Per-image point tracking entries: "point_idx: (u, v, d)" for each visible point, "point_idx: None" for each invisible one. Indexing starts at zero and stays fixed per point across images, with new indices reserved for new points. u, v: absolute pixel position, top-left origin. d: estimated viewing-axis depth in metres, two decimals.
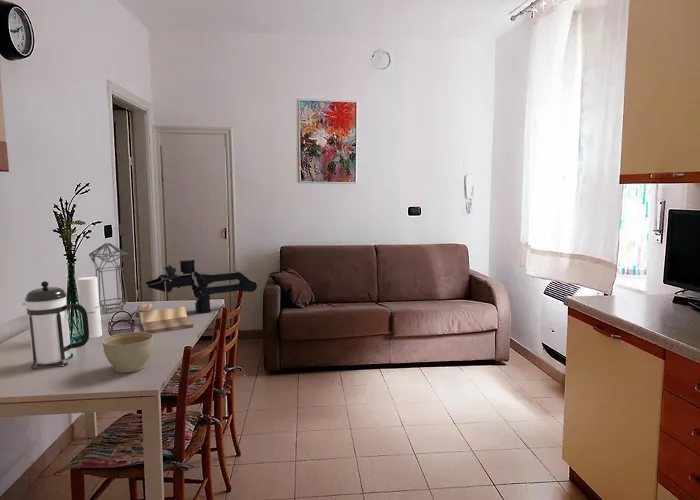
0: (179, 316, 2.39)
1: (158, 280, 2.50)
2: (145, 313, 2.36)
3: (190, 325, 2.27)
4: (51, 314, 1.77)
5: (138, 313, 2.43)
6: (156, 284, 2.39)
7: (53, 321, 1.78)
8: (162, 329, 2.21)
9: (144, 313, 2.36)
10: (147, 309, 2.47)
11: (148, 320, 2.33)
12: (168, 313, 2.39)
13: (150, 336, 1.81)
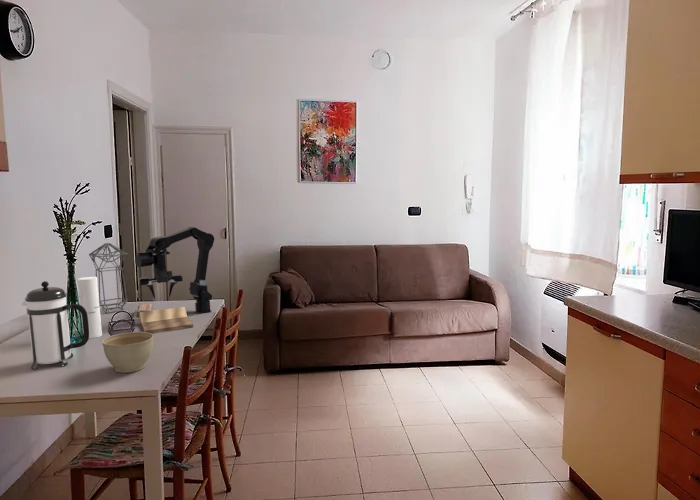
0: (179, 316, 2.39)
1: (152, 286, 2.36)
2: (145, 313, 2.36)
3: (190, 325, 2.27)
4: (51, 314, 1.77)
5: (139, 313, 2.43)
6: None
7: (53, 321, 1.78)
8: (162, 329, 2.21)
9: (144, 313, 2.36)
10: (148, 309, 2.47)
11: (148, 320, 2.33)
12: (168, 313, 2.39)
13: (150, 336, 1.81)
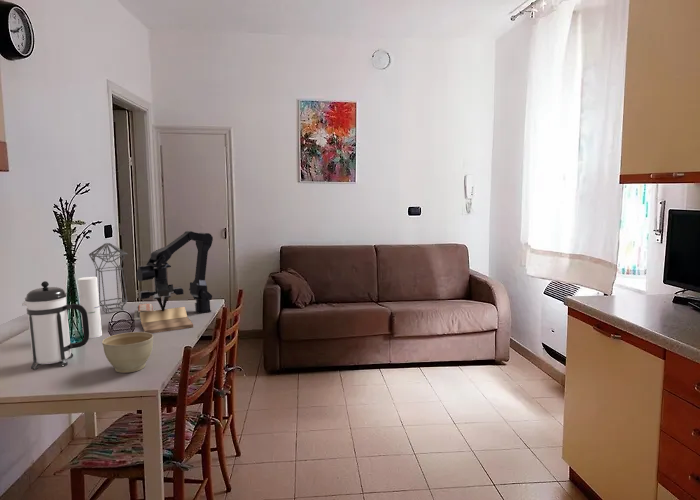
0: (179, 316, 2.39)
1: None
2: (145, 313, 2.36)
3: (190, 325, 2.27)
4: (51, 314, 1.77)
5: None
6: None
7: (53, 321, 1.78)
8: (162, 329, 2.21)
9: (144, 313, 2.36)
10: (149, 309, 2.47)
11: (148, 320, 2.33)
12: (168, 313, 2.39)
13: (150, 336, 1.81)
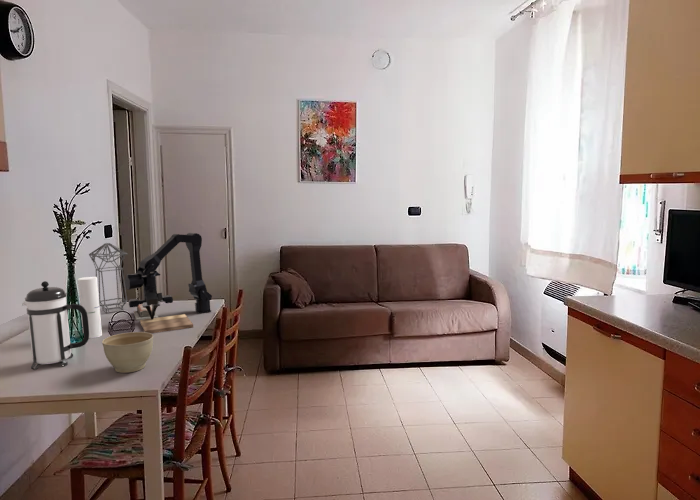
0: (179, 317, 2.39)
1: None
2: (145, 319, 2.37)
3: (190, 325, 2.27)
4: (51, 314, 1.77)
5: (143, 313, 2.43)
6: None
7: (53, 321, 1.78)
8: (162, 329, 2.21)
9: (144, 319, 2.37)
10: None
11: (148, 321, 2.33)
12: (168, 317, 2.40)
13: (150, 336, 1.81)
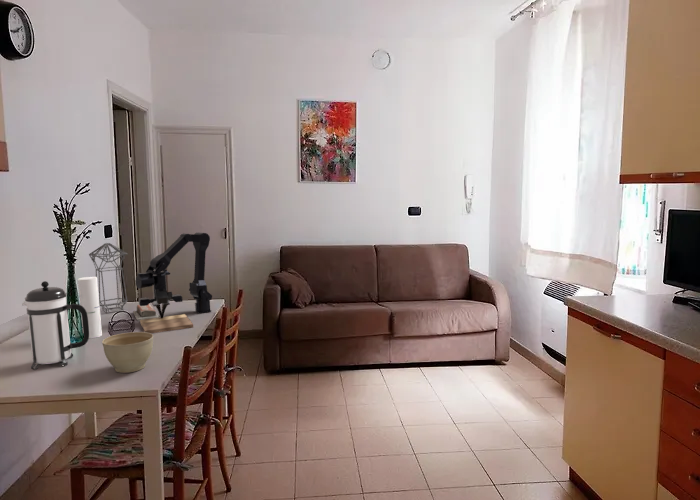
0: (179, 317, 2.39)
1: None
2: (145, 319, 2.37)
3: (190, 325, 2.27)
4: (51, 314, 1.77)
5: (143, 313, 2.43)
6: None
7: (53, 321, 1.78)
8: (162, 329, 2.21)
9: (144, 319, 2.37)
10: (151, 309, 2.48)
11: (148, 321, 2.33)
12: (168, 317, 2.40)
13: (150, 336, 1.81)
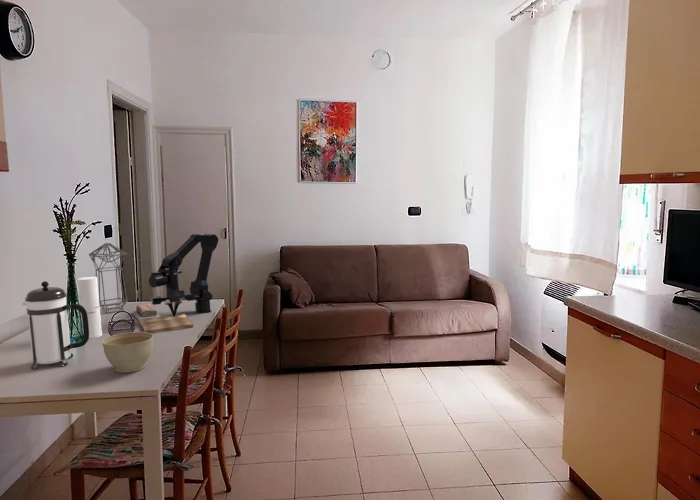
0: (179, 317, 2.39)
1: None
2: (145, 319, 2.37)
3: (190, 325, 2.27)
4: (51, 314, 1.77)
5: (144, 313, 2.43)
6: None
7: (53, 321, 1.78)
8: (162, 329, 2.21)
9: (144, 319, 2.37)
10: (151, 308, 2.48)
11: (148, 321, 2.33)
12: (168, 317, 2.40)
13: (150, 336, 1.81)
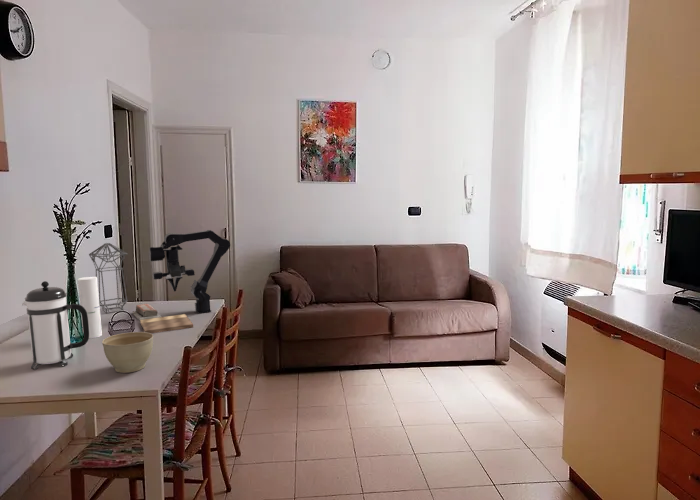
0: (179, 317, 2.39)
1: (172, 279, 2.47)
2: (145, 319, 2.37)
3: (190, 325, 2.27)
4: (51, 314, 1.77)
5: (145, 313, 2.43)
6: None
7: (53, 321, 1.78)
8: (162, 329, 2.21)
9: (144, 319, 2.37)
10: (152, 308, 2.48)
11: (148, 321, 2.33)
12: (168, 317, 2.40)
13: (150, 336, 1.81)
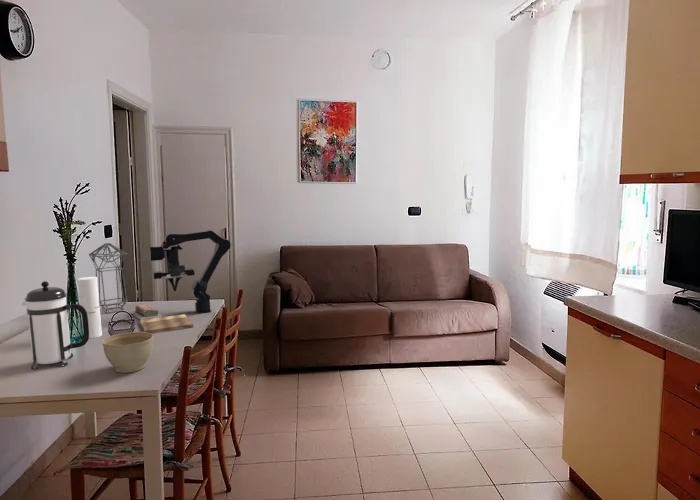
0: (179, 317, 2.39)
1: (172, 279, 2.47)
2: (145, 319, 2.37)
3: (190, 325, 2.27)
4: (51, 314, 1.77)
5: (147, 312, 2.44)
6: None
7: (53, 321, 1.78)
8: (162, 329, 2.21)
9: (144, 319, 2.37)
10: (153, 308, 2.48)
11: (148, 321, 2.33)
12: (168, 317, 2.40)
13: (150, 336, 1.81)
